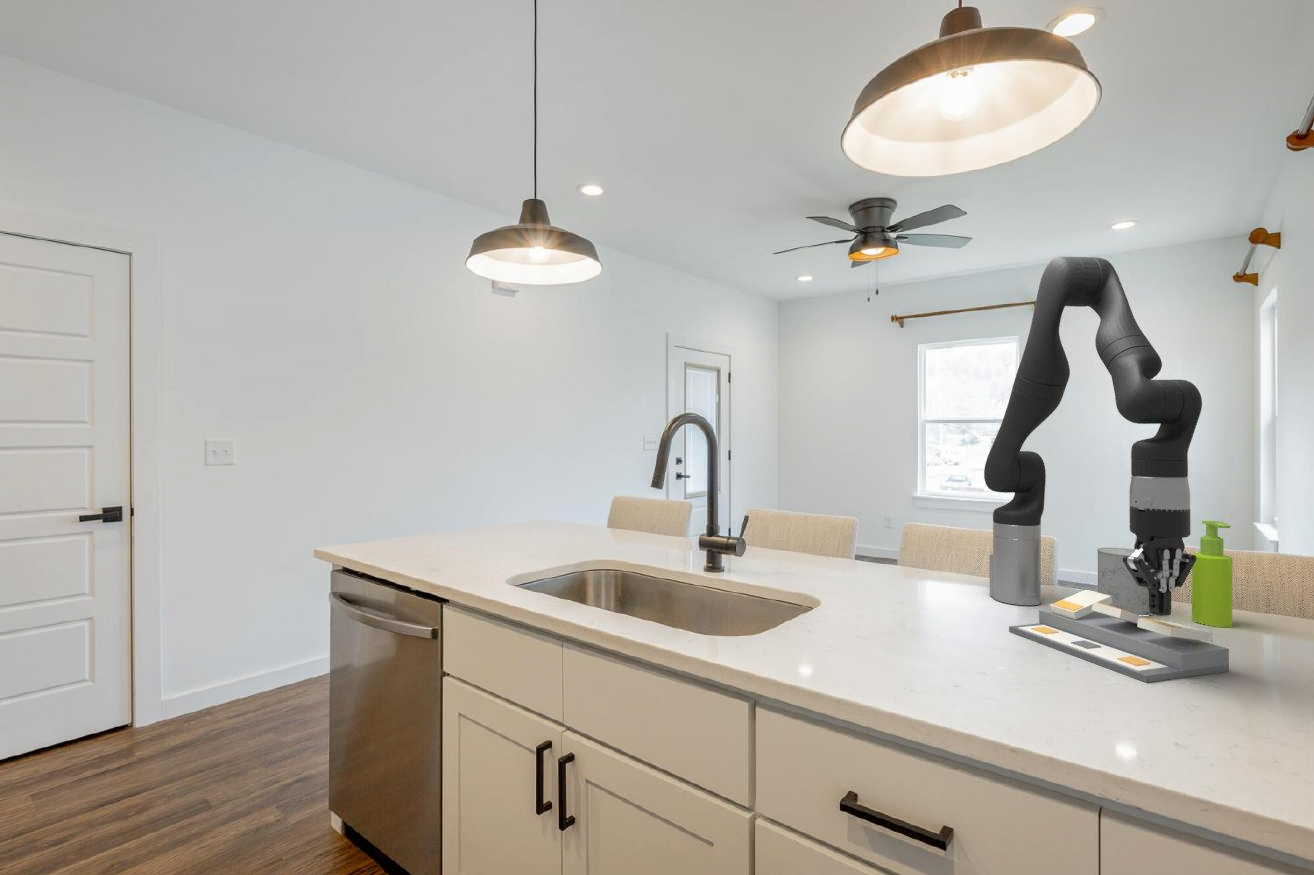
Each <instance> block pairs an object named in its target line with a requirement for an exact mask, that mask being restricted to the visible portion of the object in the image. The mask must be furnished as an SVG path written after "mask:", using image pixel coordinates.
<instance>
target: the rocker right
mask: <svg viewBox="0 0 1314 875" xmlns="http://www.w3.org/2000/svg"><path fill="white" fill-rule="evenodd" d="M1146 618H1147V617H1146ZM1146 618H1142V619H1140V618H1138V625H1137V627H1139V628H1143V629H1146V630H1150V631H1153V632H1157V633H1160V634H1163V635H1167V636H1171V637H1179V638H1187V639H1195V640H1200V641H1204V642H1213V634H1214V632H1211V631H1207V630H1204V629H1200V628H1197V627H1193V626H1189V625H1185V624H1182V623H1177V622H1170V621H1169V622H1168V621H1164V620H1163V621H1161V620H1156V619H1153V618H1149V619H1146Z"/></svg>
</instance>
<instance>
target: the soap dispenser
mask: <svg viewBox="0 0 1314 875" xmlns="http://www.w3.org/2000/svg"><path fill="white" fill-rule="evenodd" d="M1201 524H1203V525H1205V535H1203V536H1200V539H1199V540H1200V543H1199V545H1200V546H1199V548H1200V552H1197V553H1196V552H1195V553H1192V554H1191V555H1195V556H1196V561H1195V563H1194V565H1193V567H1192V569H1191V621H1192V620H1193V621H1192V622H1195V623H1196V622H1199V623H1201V624H1200V625H1203V624H1205V625H1204V626H1208V625H1209V627H1214V626H1215V628H1232V627H1233V557H1231V556H1228V555H1224V538H1221V537H1220V536H1218V534H1219V533H1218V530H1219V529H1220V528H1222V529H1230V528H1231V525H1230V524H1228V523H1226V522H1223V521H1220V520H1217V521H1216V520H1201ZM1218 528H1219V529H1218ZM1199 623H1198V624H1199Z"/></svg>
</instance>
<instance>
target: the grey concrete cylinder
mask: <svg viewBox="0 0 1314 875" xmlns="http://www.w3.org/2000/svg"><path fill="white" fill-rule="evenodd" d="M1096 550H1097V592H1098V593H1101V594H1105V595H1109V596H1111V597H1112V602H1113V603H1112V604H1110V605H1109V606H1113V607H1116V608H1120V609H1123V610H1127V611H1130V612H1132V613H1133V614H1136V615H1152V616H1153V614H1152V613H1151V612H1150V609H1149V591H1148V589H1146V588H1145V587H1142V586H1138V585H1137V583H1136V582H1135V580H1134V579H1133V577H1132V575H1131V574H1130V572H1129V571H1128V569H1127V567H1126V566H1125V564H1124V563H1123V557H1124V556H1131V555H1132V554H1133V553H1134V552H1135V549H1134V548H1125V547H1098V548H1097V549H1096Z"/></svg>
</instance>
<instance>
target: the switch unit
mask: <svg viewBox="0 0 1314 875" xmlns="http://www.w3.org/2000/svg"><path fill="white" fill-rule="evenodd" d="M1137 625H1138V624H1135V623H1132V622H1128V621H1125V620H1122V619H1119V618H1115V617H1112V616H1109V615H1106V614H1103V613H1099V612H1096V611H1094V612H1092V613H1089V614H1087V615H1085V616H1083V617H1080V618H1078V619H1076V620H1075V619H1072V618H1069V617H1065V616H1062V615H1059V614H1056V613H1052V612H1051V610H1050V608H1049V609H1048V608H1047V609H1040V610H1038V623H1030V624H1029V623H1028V624H1020V625H1010V626H1008V632H1009V633H1012V634H1015V635H1017V636H1020V637H1023V638H1025V639H1027V640H1029V641H1030V640H1031V641H1032V642H1036V643H1038V644H1041V645H1044V646H1047V647H1049V648H1052V649H1055V650H1057V651H1059V652H1063V653H1065V654H1068V655H1070V656H1074V657H1077V658H1079V659H1082V660H1084V661H1087V662H1090V663H1091V664H1095V665H1098V666H1101V667H1103V668H1106V669H1108V670H1111V671H1113V672H1117V673H1119V674H1122V675H1125V676H1127V677H1130V678H1133V679H1135V680H1138V681H1141V682H1143V683H1153V682H1159V681H1168V679H1169V680H1175V679H1181V678H1182V679H1183V678H1188V677H1196V676H1203V675H1210V674H1217V673H1225V672H1229V671H1230V649H1229V648H1228V647H1225V646H1222V645H1218V644H1214V643H1210V642H1208V641H1204V640H1195V639H1187V638H1179V637H1171V636H1167V635H1163V634H1160V633H1157V632H1153V631H1150V630H1146V629H1143V628H1139V627H1137Z"/></svg>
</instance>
